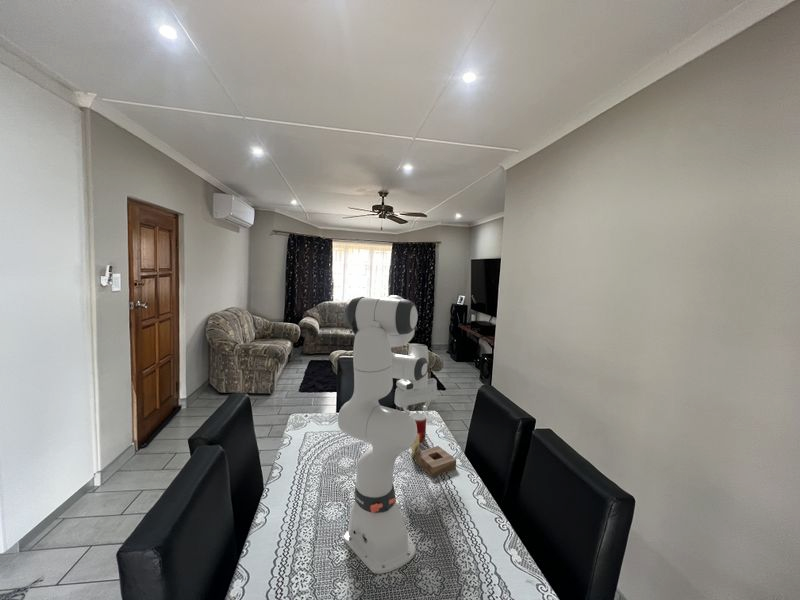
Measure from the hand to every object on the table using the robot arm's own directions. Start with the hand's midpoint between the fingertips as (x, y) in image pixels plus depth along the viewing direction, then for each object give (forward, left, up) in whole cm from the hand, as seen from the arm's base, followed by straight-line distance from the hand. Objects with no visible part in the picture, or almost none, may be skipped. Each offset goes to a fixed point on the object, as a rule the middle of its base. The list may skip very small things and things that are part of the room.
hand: (416, 412), depth 141 cm
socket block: (-9, -4, -20) cm, 22 cm away
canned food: (+13, -10, -20) cm, 26 cm away
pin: (0, 0, -20) cm, 20 cm away
